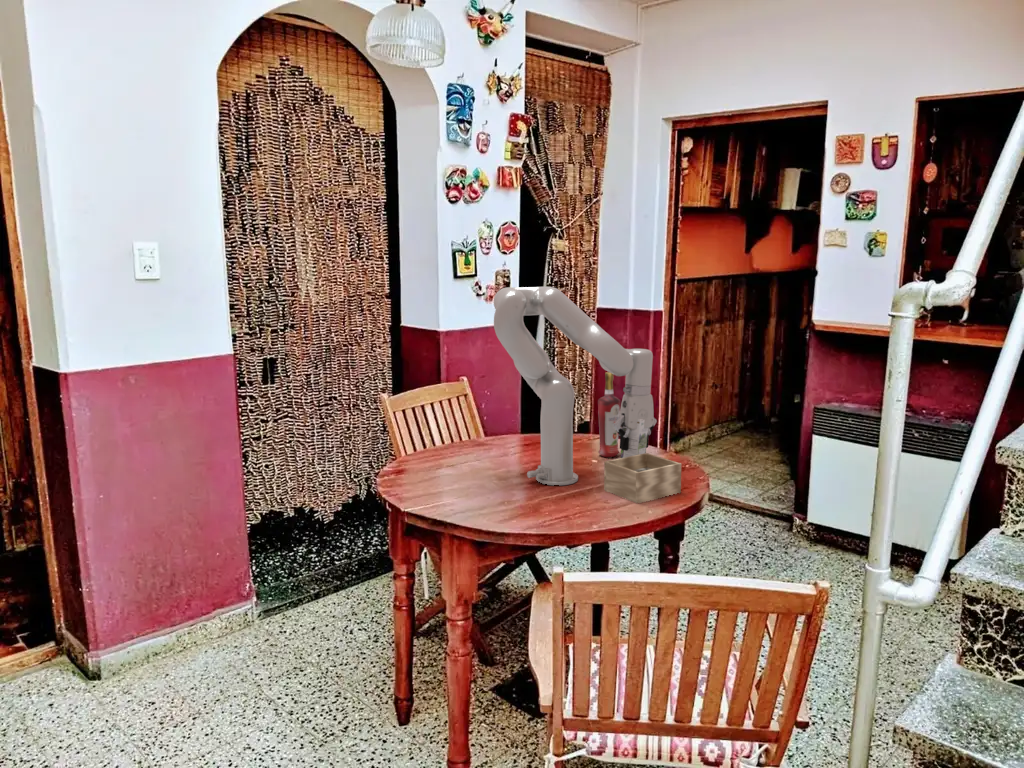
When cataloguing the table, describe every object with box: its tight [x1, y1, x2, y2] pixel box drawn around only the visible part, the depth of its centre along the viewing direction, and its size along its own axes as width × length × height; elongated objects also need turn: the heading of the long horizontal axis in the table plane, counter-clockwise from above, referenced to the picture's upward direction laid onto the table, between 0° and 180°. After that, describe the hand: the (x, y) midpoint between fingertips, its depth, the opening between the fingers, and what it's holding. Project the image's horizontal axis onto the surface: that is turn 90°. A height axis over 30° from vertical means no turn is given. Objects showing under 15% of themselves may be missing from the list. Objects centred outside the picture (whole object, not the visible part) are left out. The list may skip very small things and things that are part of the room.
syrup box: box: [620, 419, 648, 458], centre depth 224 cm, size 6×6×14 cm
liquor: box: [597, 371, 621, 458], centre depth 246 cm, size 7×7×28 cm
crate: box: [603, 452, 682, 504], centre depth 209 cm, size 16×14×8 cm
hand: (633, 447), depth 225 cm, fingers closed on syrup box, 7 cm apart
